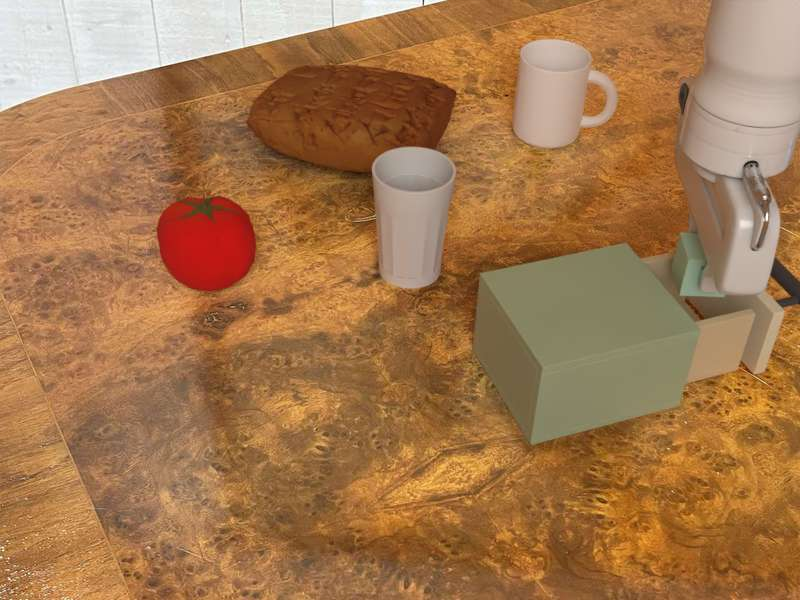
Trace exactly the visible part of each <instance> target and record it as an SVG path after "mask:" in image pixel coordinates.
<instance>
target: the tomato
mask: <svg viewBox="0 0 800 600" xmlns="http://www.w3.org/2000/svg"><path fill="white" fill-rule="evenodd" d="M176 199H177V201H175V202H172V203H171V204H169V205H167V207H166V208H165V209H163V211H162V213H161V215H160V216H159V218H158V221H157V226H156V236H157V241H158V248H159V255H160V258H161V261H162V262H163V264H164V266H165V268H166V269H167V271H168V273H170V275H171V276H172V278H174V279H175V280H176V281H178V282H179V283H180V284H182V285H183V286H185V287H188V288H190V289H192V290H198V291H206V292H213V291H217V290H218V291H219V290H223V289H224V290H225V289H228V288H230V287H232V286H233V285H235V284H236V283H237V282H240V280H242V279H243V278H245V277H246V276H247V274H248V273H249V271H250V269H251V268H252V266H253V265H254V262H255V259H256V249H257V242H256V241H257V240H256V232H255V231H254V226H253V224H252V220H251V217H250V214H248V213H247V211H246V210H245V209H244V208H243V207H242V206H241V205H240V204H239V203H236V202H235V201H233V200H232V199H230V198H228V197H225V196H221V195H216V196H214V195H212V196H211V197H207V198H198V197H190V196H189V197H185V198H183V199H182V198H179V197H176Z"/></svg>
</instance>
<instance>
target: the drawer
mask: <svg viewBox="0 0 800 600" xmlns="http://www.w3.org/2000/svg"><path fill="white" fill-rule="evenodd" d="M674 254H675V250H674V251H670V252H665V253H659V254H654V255H650V256H646V257H642V258H641V257H640V259H641V260H642V261H643V263H644V264H645V265H646V266H647V267H648V268H649V270H650V271H651V272H652V273H653V274H654V275H655V277H656V278H657V279H658V280H659V281H660V282H661V283H662V285H663V286H664V287H665V288H666V289H667V290H668V292H669V293H670V294H671V295H672V296H673V297H674V299H675V300H676V301H677V302H678V303H679V304H680V306H681V307H682V308H683V309H684V310H685V311H686V313H687V314H688V315H689V316H690V317H691V318H692V320H693V321H694V322H695V323H696V324H697V325H698V327H699V328H700V329H701V332H700V335H699V339H698V342H697V346H696V349H695V353H694V356H693V360H692V363H691V367H690V370H689V374H688V377H687V381H686V384H689V383H693V382H698V381H702V380H706V379H710V378H714V377H718V376H721V375H725V374H730V373H733V372H736V371H737V372H738V370H739V367H740V364H741V362H742V363H743V364H744V366H745V367H746V368H747V369H748V370H749V371H750V372H751V373H752V375H757V374H762V373H765V372H766V369H767V366H768V363H769V360H770V358H771V354H772V352H773V348H774V346H775V343H776V340H777V338H778V334H779V331H780V329H781V325H782V322H783V319H784V317H785V314H786V310H785V309H784V308H787V307H791V306H795V305H798V306H800V280H799V279H798V278H797V277H796V276H795V275H794V274H793V273H792V272H791V271H790V270H789V269H788V268H787V267H786V266H785V265H784V264H783V263H782V262H781V261H780V260H779V259H778V258H777V257H776V256H775V258H774V262H773V266H772V270H771V274H770V277H771V278H772V279H773V280H774V281H775V282H776V283H777V284H778V285H779V286H780V287H781V289H783V290H784V292H786V293H787V294H788V295H789V296H787V297H783V298H778V299H774V298H773V297H772V296H771V294H769V292H767V290H766V289H765V290H764V291H763V292H762V293H760V294H758V295H755V296H738V295H725V297H702V296H679V293H678V289H677V286H676V282H675V279H674V275H673V272H672V268H671V266H672V262H673V258H674ZM686 300H688V301H689V303H690V304H691V305H692V306H693V307H694V308H695V310H697V312H698V313H699V314H700V315H701V316H702V318H703V319H701V318H700V317H699V315H697V313H696V312H695V311H694V310H693V309H692V308H691V307H690V306H689V304H688V303H687V302H686Z"/></svg>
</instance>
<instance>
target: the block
mask: <svg viewBox="0 0 800 600" xmlns="http://www.w3.org/2000/svg"><path fill="white" fill-rule="evenodd" d="M674 251H675V254H674V258H673V262H672V266H671V268H672V272H673V275H674V279H675V282H676V286H677V289H678V293H679V296H686V297H687V296H702V297H725V295H724V294H721V293H719V292H718V293H704V292H702V291H701V289H700V285H699V281H698V276H699V272H700V268H701V266H706V265H707V263H708V262H707V259H706V256H705V253H704V250H703V247H702V244H701V241H700V238H699V235H698V233H688V232H684V231H683V232H682V231H681V232H679V234H678V239H677V242H676V247H675V250H674Z"/></svg>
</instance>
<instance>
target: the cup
mask: <svg viewBox="0 0 800 600" xmlns="http://www.w3.org/2000/svg"><path fill="white" fill-rule="evenodd" d="M371 174H372V175H371V177H372V187H373V188H372V189H373V198H374V211H375V225H376V226H375V228H376V239H377V240H376V241H377V253H378V273H379V275H380V277H381V278H382V280H384V281H385V282H386V283H388V284H390V285H392V286H393V287H396V288H400V289H406V290H407V289H408V290H409V289H410V290H411V289H412V290H413V289H421V288H425V287H428V286H430V285H432V284H433V283H435V282H436V281H437V280H438V279H439V278H440V275H441V273H442V271H441V270H442V256H443V255H442V254H443V250H444V244H445V238H446V232H447V231H446V230H447V225H448V219H449V213H450V208H451V207H450V206H451V204H452V199H453V194H454V190H455V189H454V188H455V183H456V178H457V167H456V165H455V162H454V161H453V160H452V159H451V158H450V157H449V156H447V155H446V154H445V153H442V152H440V151H438V150H435V149H434V150H432V149H429V148H423V147H400V148H395V149H392V150H389V151H387V152H384V153H383V154H381V155H380V156H378V157H377V158H376V159H375V161H374V162H373V165H372V173H371Z"/></svg>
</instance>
